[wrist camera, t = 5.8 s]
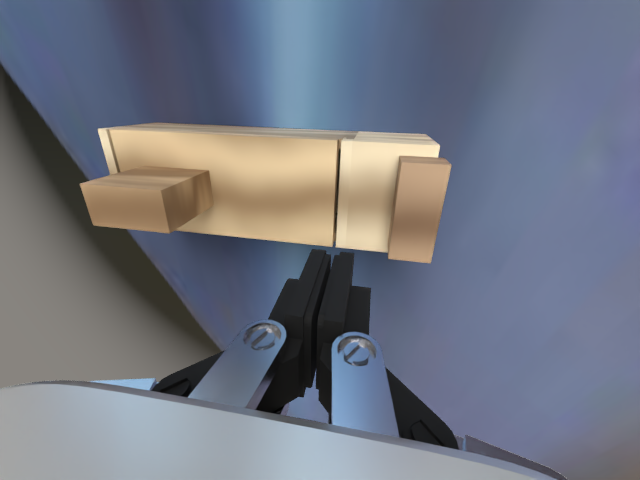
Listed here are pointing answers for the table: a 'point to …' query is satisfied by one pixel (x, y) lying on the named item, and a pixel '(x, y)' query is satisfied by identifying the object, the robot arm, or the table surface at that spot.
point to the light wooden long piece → (352, 180)
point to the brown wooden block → (417, 207)
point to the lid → (220, 185)
